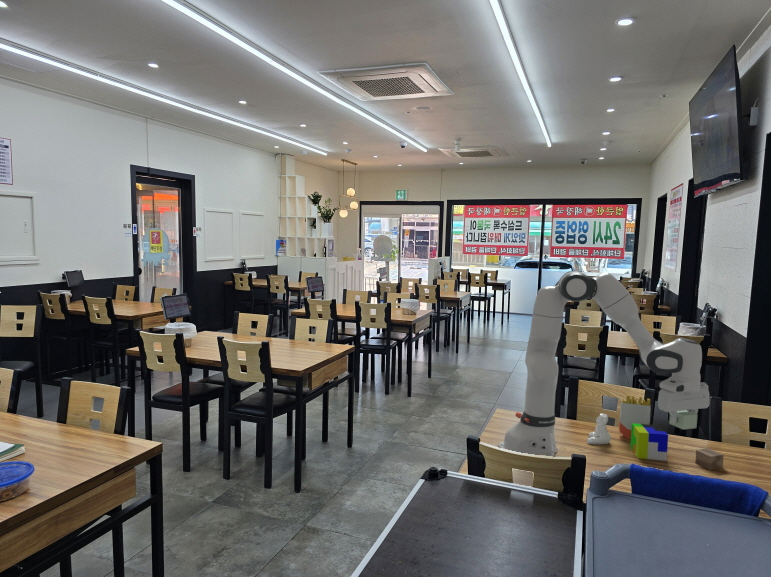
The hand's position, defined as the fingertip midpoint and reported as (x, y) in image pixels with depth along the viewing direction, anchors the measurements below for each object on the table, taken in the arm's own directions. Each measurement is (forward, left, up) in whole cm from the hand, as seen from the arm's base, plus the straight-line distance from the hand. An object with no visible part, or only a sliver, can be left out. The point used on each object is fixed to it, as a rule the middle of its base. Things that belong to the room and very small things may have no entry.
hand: (682, 421), depth 181 cm
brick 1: (0, 0, -2) cm, 2 cm away
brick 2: (+11, -2, -17) cm, 20 cm away
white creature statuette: (-13, +27, -17) cm, 34 cm away
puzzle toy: (-3, +12, -17) cm, 21 cm away
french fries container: (+4, +27, -17) cm, 32 cm away
